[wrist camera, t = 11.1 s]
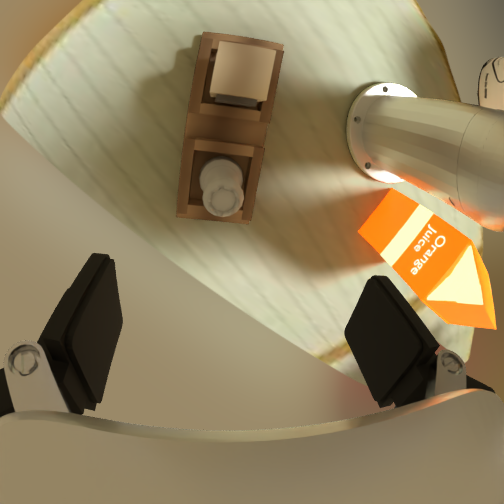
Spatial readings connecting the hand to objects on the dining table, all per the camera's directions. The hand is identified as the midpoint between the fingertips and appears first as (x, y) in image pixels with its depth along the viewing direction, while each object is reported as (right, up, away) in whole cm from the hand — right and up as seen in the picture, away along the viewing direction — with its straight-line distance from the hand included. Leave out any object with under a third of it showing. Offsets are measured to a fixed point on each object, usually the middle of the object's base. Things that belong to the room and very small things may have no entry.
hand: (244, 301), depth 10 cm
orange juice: (+20, +5, +25) cm, 32 cm away
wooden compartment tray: (-2, +14, +16) cm, 22 cm away
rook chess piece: (-3, +10, +18) cm, 21 cm away
